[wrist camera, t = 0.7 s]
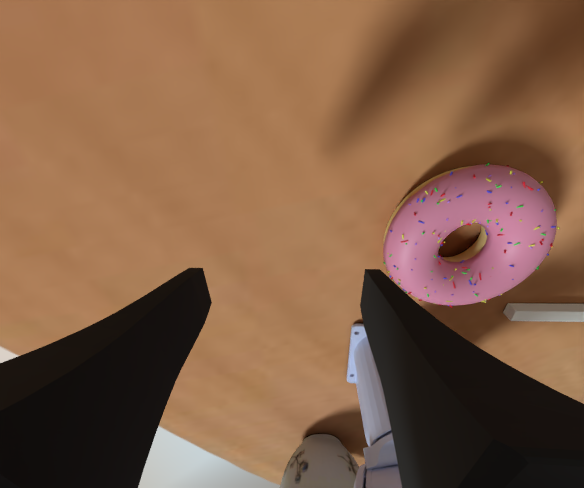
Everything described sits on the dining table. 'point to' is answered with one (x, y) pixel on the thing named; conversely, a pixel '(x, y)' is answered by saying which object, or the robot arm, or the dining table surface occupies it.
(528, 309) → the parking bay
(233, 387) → the dining table surface
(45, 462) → the robot arm
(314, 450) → the teacup
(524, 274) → the doughnut
